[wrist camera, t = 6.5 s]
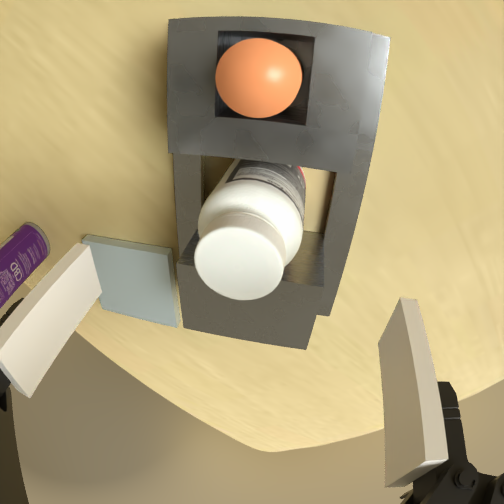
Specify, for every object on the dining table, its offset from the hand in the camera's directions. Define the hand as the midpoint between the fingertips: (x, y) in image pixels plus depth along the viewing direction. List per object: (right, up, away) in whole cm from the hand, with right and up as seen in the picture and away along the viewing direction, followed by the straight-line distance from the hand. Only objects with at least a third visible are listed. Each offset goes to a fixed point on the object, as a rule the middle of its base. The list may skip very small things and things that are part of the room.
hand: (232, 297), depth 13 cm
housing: (+2, +7, +9) cm, 11 cm away
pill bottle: (+2, +7, +9) cm, 12 cm away
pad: (-11, -1, +17) cm, 20 cm away
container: (-23, +3, +17) cm, 29 cm away
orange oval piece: (+2, +11, +3) cm, 12 cm away
